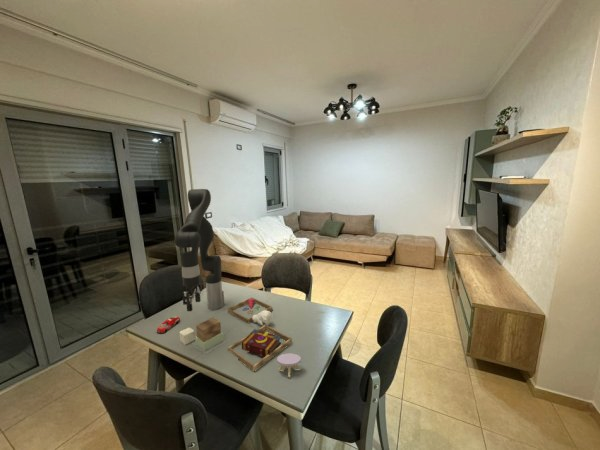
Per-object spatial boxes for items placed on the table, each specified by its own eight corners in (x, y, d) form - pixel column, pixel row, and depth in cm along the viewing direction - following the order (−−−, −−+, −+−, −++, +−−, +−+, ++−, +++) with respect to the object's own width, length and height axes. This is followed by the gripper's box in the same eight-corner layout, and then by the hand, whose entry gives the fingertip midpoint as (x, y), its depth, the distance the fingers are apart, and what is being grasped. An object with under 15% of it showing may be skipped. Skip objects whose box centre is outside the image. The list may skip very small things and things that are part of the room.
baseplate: (214, 333, 126) (214, 331, 126) (227, 343, 119) (227, 341, 119) (191, 345, 117) (191, 343, 117) (204, 356, 110) (204, 354, 110)
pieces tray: (251, 300, 161) (251, 297, 161) (272, 310, 149) (272, 306, 148) (227, 312, 147) (227, 308, 147) (248, 324, 135) (248, 320, 134)
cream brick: (190, 337, 123) (189, 327, 122) (195, 341, 120) (194, 330, 119) (180, 342, 119) (179, 331, 118) (185, 347, 116) (184, 335, 115)
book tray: (265, 328, 130) (265, 324, 130) (291, 343, 119) (291, 338, 118) (227, 352, 112) (227, 347, 112) (254, 372, 101) (253, 366, 100)
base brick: (214, 334, 124) (214, 327, 123) (223, 340, 119) (223, 333, 118) (195, 344, 117) (195, 336, 116) (204, 351, 112) (203, 343, 111)
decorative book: (269, 359, 107) (269, 349, 106) (239, 350, 113) (238, 340, 112) (281, 344, 118) (281, 334, 117) (252, 336, 124) (252, 327, 123)
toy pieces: (239, 307, 153) (238, 301, 153) (255, 302, 159) (255, 296, 159) (246, 316, 143) (245, 309, 143) (263, 310, 149) (263, 304, 149)
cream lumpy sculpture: (266, 314, 128) (248, 311, 133) (268, 329, 129) (250, 326, 135) (272, 309, 134) (255, 306, 139) (274, 323, 135) (256, 320, 140)
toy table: (274, 377, 98) (274, 364, 97) (280, 361, 107) (280, 349, 106) (298, 380, 97) (298, 367, 96) (302, 363, 105) (302, 352, 104)
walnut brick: (214, 328, 122) (213, 317, 121) (220, 332, 119) (220, 321, 118) (197, 337, 116) (196, 325, 114) (203, 342, 112) (202, 330, 111)
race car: (162, 335, 126) (161, 328, 125) (154, 333, 127) (153, 326, 127) (182, 321, 138) (181, 315, 137) (174, 320, 140) (173, 313, 139)
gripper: (191, 280, 106) (195, 314, 109) (205, 268, 119) (207, 299, 123) (174, 280, 106) (178, 314, 109) (190, 268, 120) (193, 298, 123)
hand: (194, 306), depth 116 cm, fingers open, 8 cm apart
